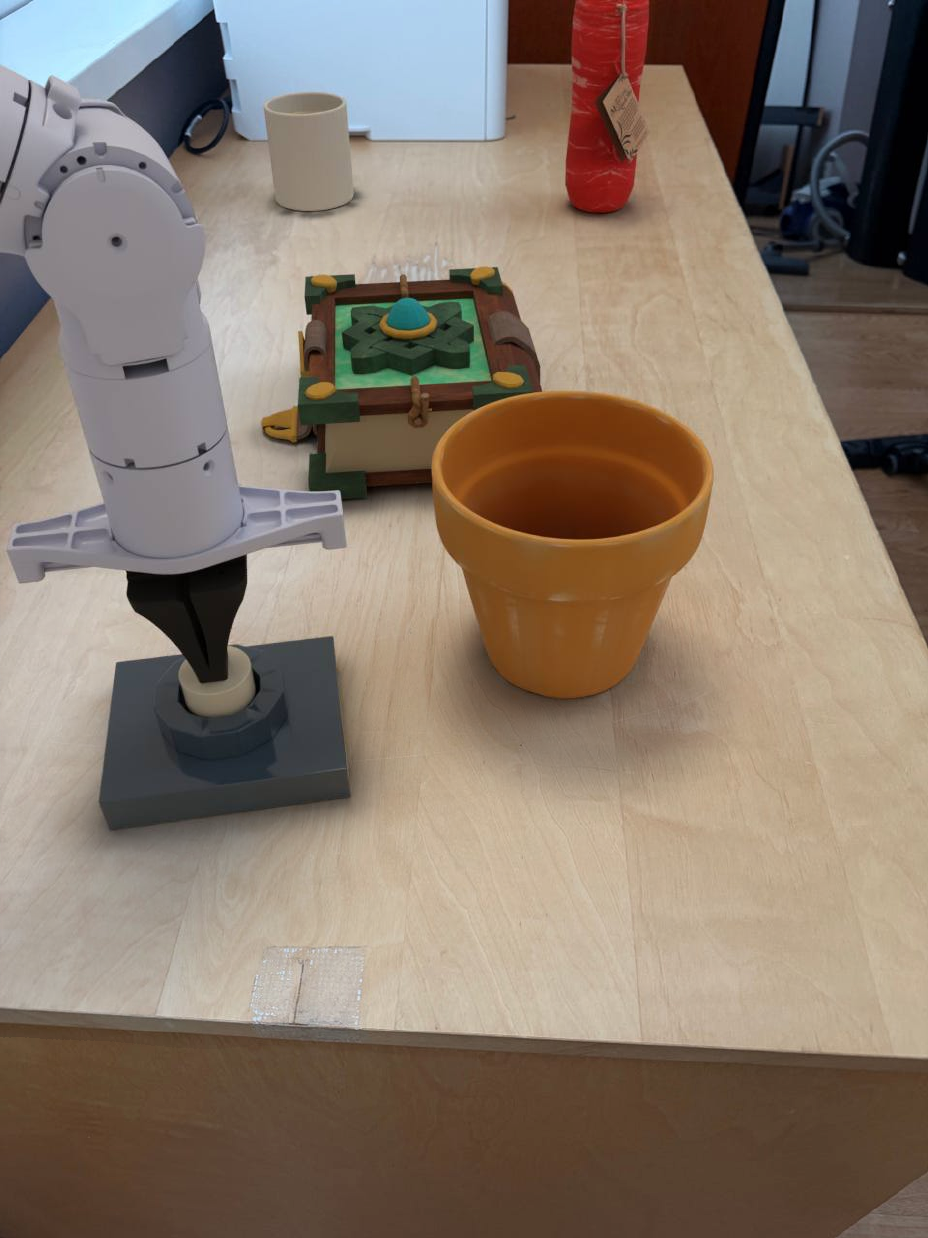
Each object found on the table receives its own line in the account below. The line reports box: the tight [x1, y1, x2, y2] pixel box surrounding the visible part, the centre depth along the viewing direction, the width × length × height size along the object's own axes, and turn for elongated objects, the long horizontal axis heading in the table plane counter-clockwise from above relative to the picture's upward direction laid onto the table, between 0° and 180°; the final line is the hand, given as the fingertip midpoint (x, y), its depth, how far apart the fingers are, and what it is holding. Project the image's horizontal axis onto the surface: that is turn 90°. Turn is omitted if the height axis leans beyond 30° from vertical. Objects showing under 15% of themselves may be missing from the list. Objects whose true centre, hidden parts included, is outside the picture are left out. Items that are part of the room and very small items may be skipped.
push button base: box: [98, 635, 352, 831], centre depth 54 cm, size 12×10×4 cm
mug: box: [263, 91, 355, 212], centre depth 115 cm, size 11×10×10 cm
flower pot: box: [431, 390, 715, 699], centre depth 57 cm, size 14×14×13 cm
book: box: [260, 266, 544, 500], centre depth 79 cm, size 27×21×10 cm
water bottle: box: [564, 0, 651, 214], centre depth 106 cm, size 12×8×25 cm, turn 7°
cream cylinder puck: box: [179, 646, 256, 718], centre depth 53 cm, size 4×4×2 cm
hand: (213, 668), depth 52 cm, fingers closed
